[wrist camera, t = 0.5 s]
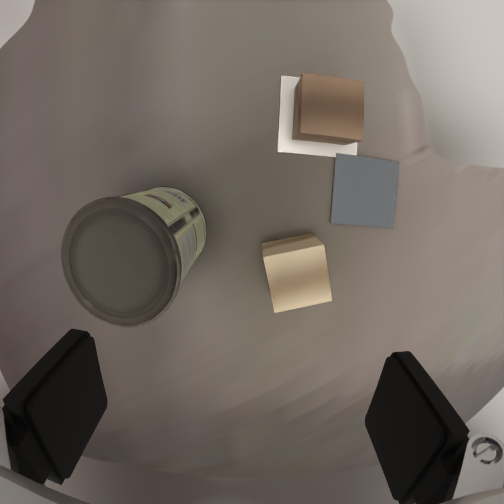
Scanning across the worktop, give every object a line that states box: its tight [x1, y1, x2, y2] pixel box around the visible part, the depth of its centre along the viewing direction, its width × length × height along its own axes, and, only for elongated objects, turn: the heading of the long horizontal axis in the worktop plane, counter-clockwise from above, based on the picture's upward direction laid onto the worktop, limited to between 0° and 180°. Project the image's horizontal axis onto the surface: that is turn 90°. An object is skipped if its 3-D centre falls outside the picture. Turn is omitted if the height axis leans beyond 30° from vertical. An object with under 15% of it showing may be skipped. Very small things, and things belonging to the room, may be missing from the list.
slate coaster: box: [330, 153, 399, 228], centre depth 34 cm, size 8×8×1 cm
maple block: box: [261, 233, 332, 313], centre depth 33 cm, size 6×6×6 cm
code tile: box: [277, 76, 357, 157], centre depth 32 cm, size 9×9×1 cm
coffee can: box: [61, 187, 206, 327], centre depth 28 cm, size 10×10×14 cm
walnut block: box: [292, 73, 364, 145], centre depth 28 cm, size 6×6×6 cm
